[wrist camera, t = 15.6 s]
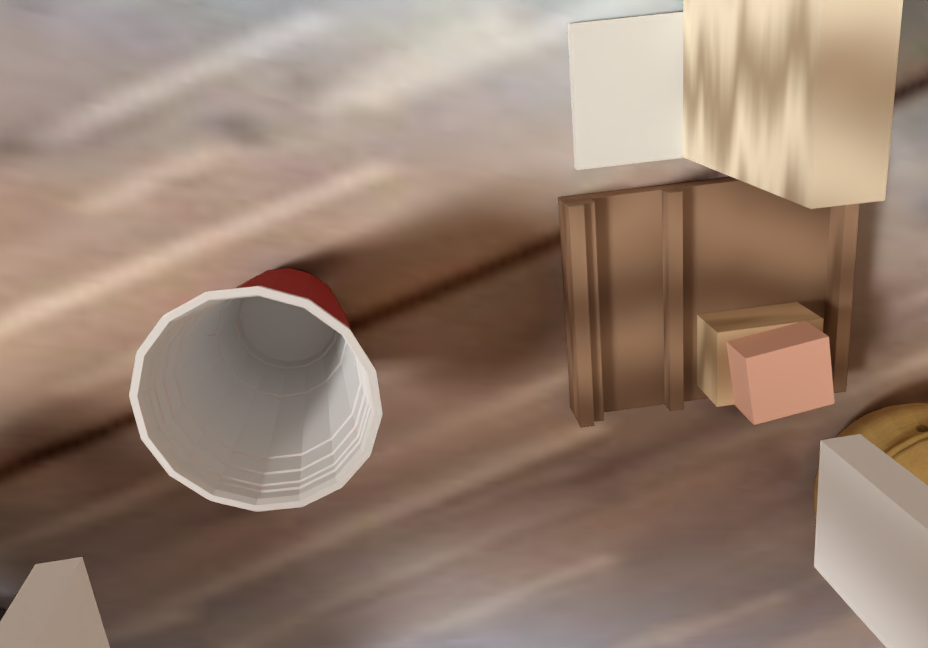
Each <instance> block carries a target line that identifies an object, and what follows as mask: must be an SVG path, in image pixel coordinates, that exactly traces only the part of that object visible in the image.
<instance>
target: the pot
mask: <svg viewBox="0 0 928 648" xmlns="http://www.w3.org/2000/svg"><path fill="white" fill-rule="evenodd" d="M857 434H861V435H862V436H863V437H865V438H866V439H867V440H869V441H870V442H871V443H872V444H874V445H875V446H876V447H878V448H879V449H880V450H882V451H883V452H884V453H886V454H887V455H888V456H890V457H891V458H892V459H894V460H895V461H896V462H897V463H899V464H900V465H901V466H903V467H904V468H905V469H907V470H908V471H909V472H911V473H912V474H913V475H915V476H916V477H917V478H919V479H920V480H921V481H923V482H924V483H925V484H926V485H928V403H909V404H901V405H893V406H888V407H885V408H882V409H879V410H876V411H873V412H870V413H868V414H866V415H865V416H863V417H861V418H859V419H857V420H856V421H854V422H853V423H851V424H850V425H849V426H848V427H847V428H845V429H844V430H843V431H842V432H841V433H840V434H839V435H838V436H837V437H836V438H838V437H844V436H850V435H857ZM818 478H819V467H818V471H817V474H816V477H815V483H814V510H815V515H816V517H817V498H818Z"/></svg>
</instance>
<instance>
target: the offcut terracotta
mask: <svg viewBox="0 0 928 648" xmlns="http://www.w3.org/2000/svg"><path fill="white" fill-rule="evenodd" d="M726 344H727V351H728V359H729V366H730V373H731V381H732V388H733V396H734V403H735V406H736V407H737V408H738V409H739V410H740V411H741V412H742V413H743V414H744V415H745V416H746V417H747V418H748V419H749V420H750V421H751V422H752V423H753V425H756V424H760V423H764V422H767V421H771V420H775V419H779V418H782V417H786V416H790V415H794V414H797V413H801V412H805V411H809V410H812V409H816V408H820V407H824V406H828V405H831V404H835V402H834V391H833V379H832V367H831V356H830V344H829V336H827V335H826V334H824V333H823V332H821V331H820V330H818V329H817V328H815V327H814V326H813V325H811V324H810V323H808V322H807V321H802V322H798V323H794V324H790V325H786V326H783V327H779V328H775V329H771V330H768V331H764V332H760V333H756V334H752V335H749V336H745V337H741V338H737V339H734V340H730V341H726Z"/></svg>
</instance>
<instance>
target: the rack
mask: <svg viewBox="0 0 928 648" xmlns="http://www.w3.org/2000/svg"><path fill="white" fill-rule="evenodd" d="M558 201H559V218H560V236H561V253H562V270H563V287H564V305H565V322H566V339H567V356H568V374H569V391H570V408H571V409H572V411H573V413H574V415H575V417H576V419H577V421H578V423H579V425H580V427H589V426H594V422H595V421H602V420H604V412H609V411H617V410H624V409H631V408H639V407H646V406H654V405H661V404H665V405H666V406H667V408H668V409H669V410H670V411H676V410H683V409H684V401H691V400H698V399H705V398H708V397H707V396H706V395H705V393H704V392H703V391H702V390H701V389H700V388H699V387H698V386H697V315H700V314H708V313H715V312H723V311H731V310H739V309H747V308H754V307H762V306H770V305H778V304H785V303H793V302H798V303H799V304H801V305H803V306H804V307H806V308H807V309H809V310H810V311H812V312H814V313H815V314H817V315H818V316H820V317H821V318H823V333H824V334H826V335H827V336H829V344H830V356H831V367H832V379H833V391H834V393H838V392H845V391H846V385H847V371H848V357H849V343H850V329H851V315H852V301H853V287H854V273H855V259H856V245H857V231H858V217H859V204H850V205H841V206H833V207H824V208H815V209H810V208H807V207H805V206H802V205H800V204H797V203H795V202H792V201H790V200H787V199H785V198H782V197H780V196H777V195H775V194H773V193H770V192H768V191H765V190H763V189H760V188H758V187H755V186H753V185H750V184H748V183H745V182H743V181H740V180H738V179H736V178H733V177H726V178H718V179H710V180H701V181H693V182H684V183H676V184H667V185H659V186H650V187H642V188H633V189H625V190H617V191H608V192H600V193H591V194H583V195H574V196H566V197H558Z"/></svg>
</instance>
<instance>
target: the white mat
mask: <svg viewBox="0 0 928 648" xmlns="http://www.w3.org/2000/svg"><path fill="white" fill-rule="evenodd" d="M567 28H568V47H569V67H570V87H571V107H572V127H573V147H574V167H575V169H576V170H582V169H591V168H599V167H608V166H617V165H625V164H634V163H642V162H651V161H660V160H668V159H677V158H684V157H683V12H675V13H665V14H656V15H646V16H637V17H627V18H618V19H608V20H599V21H589V22H580V23H570V24H567Z"/></svg>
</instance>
